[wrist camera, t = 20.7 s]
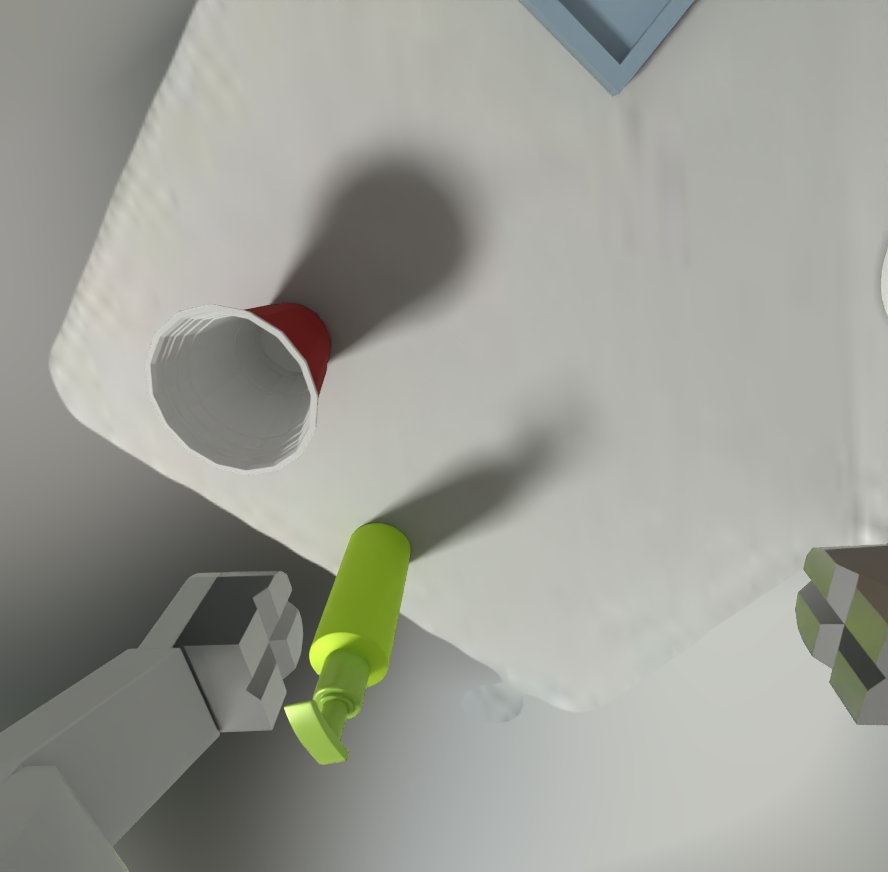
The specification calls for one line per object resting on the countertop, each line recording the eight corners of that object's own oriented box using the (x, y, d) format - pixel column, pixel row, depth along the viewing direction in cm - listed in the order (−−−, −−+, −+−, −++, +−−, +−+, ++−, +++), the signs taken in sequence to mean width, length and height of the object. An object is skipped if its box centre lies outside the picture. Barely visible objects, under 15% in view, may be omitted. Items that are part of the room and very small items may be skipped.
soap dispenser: (392, 506, 50) (338, 702, 32) (420, 564, 53) (384, 774, 35) (334, 522, 51) (251, 719, 33) (364, 578, 54) (303, 787, 36)
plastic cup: (236, 244, 40) (146, 277, 30) (377, 298, 41) (338, 348, 31) (213, 374, 45) (128, 443, 34) (340, 419, 46) (295, 499, 36)
